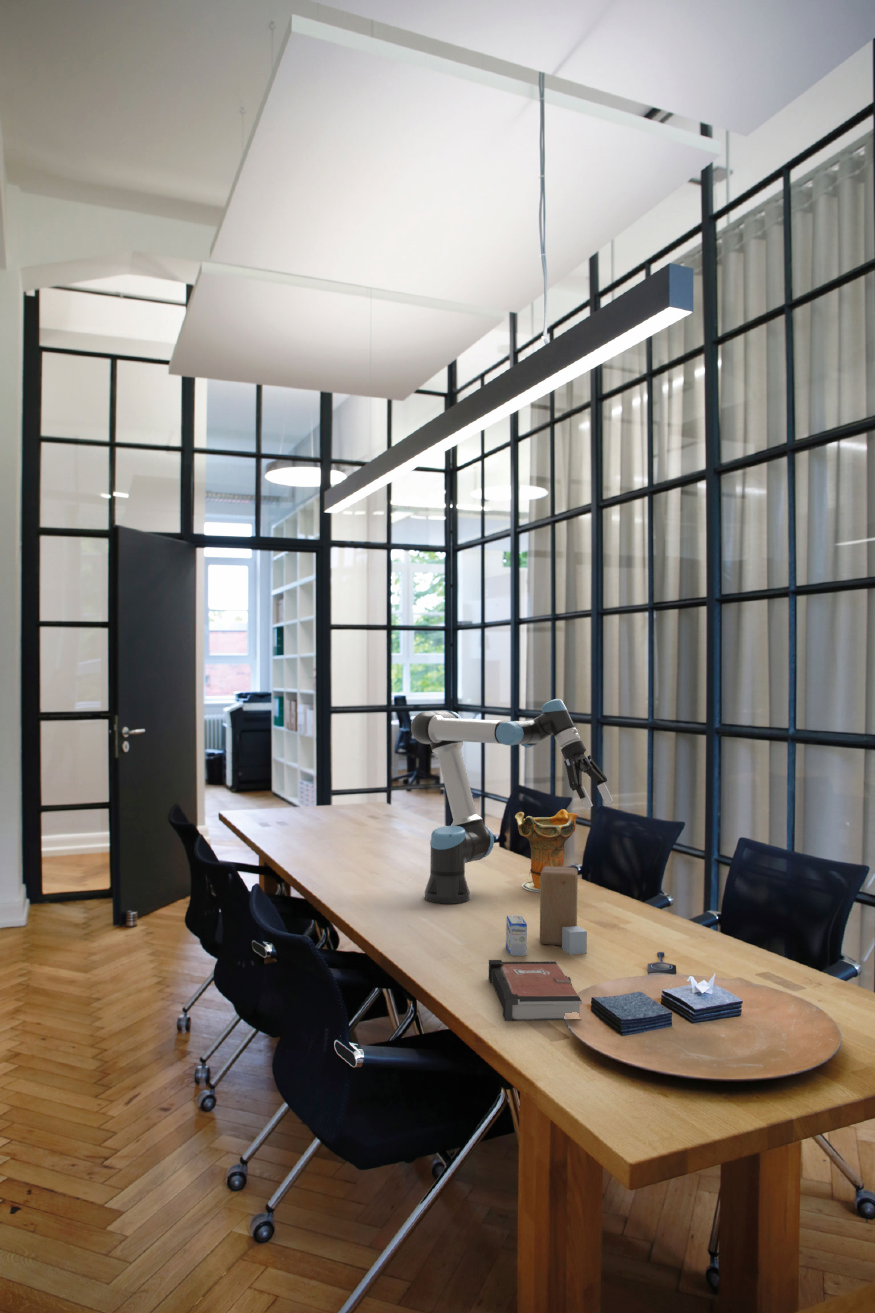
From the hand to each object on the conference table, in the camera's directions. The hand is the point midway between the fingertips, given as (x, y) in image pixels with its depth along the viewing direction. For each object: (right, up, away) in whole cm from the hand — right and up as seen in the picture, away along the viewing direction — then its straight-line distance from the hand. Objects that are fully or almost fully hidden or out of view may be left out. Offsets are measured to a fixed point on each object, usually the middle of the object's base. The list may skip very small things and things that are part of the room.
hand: (599, 805), depth 266 cm
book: (-29, -33, -70) cm, 83 cm away
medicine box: (-30, -34, -36) cm, 58 cm away
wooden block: (-17, -34, -26) cm, 46 cm away
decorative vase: (-12, -36, +37) cm, 53 cm away
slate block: (-14, -34, -35) cm, 51 cm away
